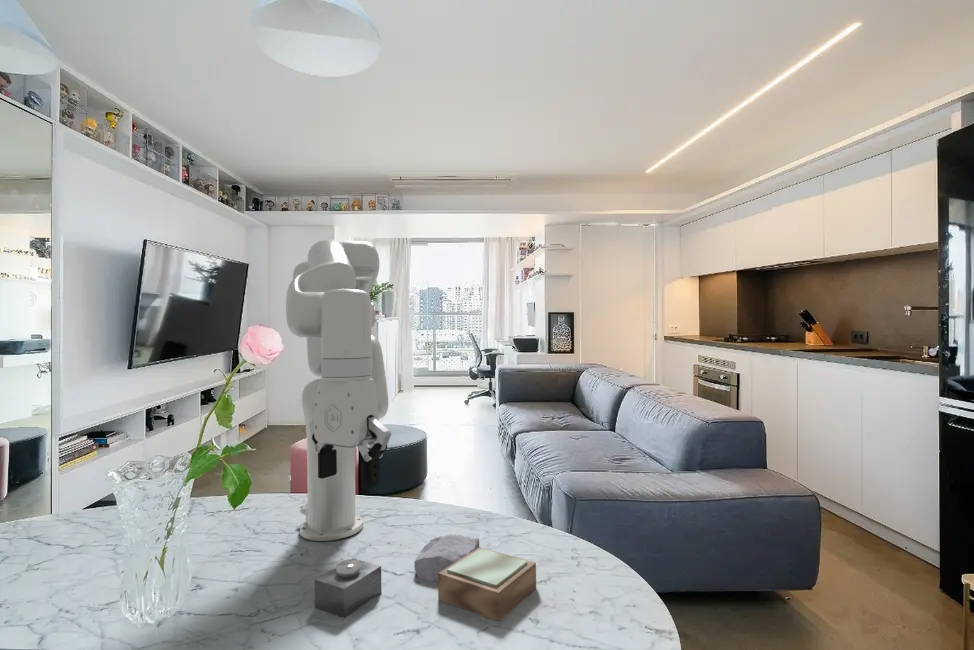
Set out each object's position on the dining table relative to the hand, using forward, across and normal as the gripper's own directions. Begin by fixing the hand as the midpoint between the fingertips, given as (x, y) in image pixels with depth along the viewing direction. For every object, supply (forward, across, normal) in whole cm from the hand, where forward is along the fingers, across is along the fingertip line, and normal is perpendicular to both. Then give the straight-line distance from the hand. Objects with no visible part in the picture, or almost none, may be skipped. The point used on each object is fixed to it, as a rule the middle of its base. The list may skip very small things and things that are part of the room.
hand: (348, 481), depth 78 cm
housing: (+18, 0, 0) cm, 18 cm away
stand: (+18, +17, +13) cm, 28 cm away
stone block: (+19, +5, +17) cm, 26 cm away
